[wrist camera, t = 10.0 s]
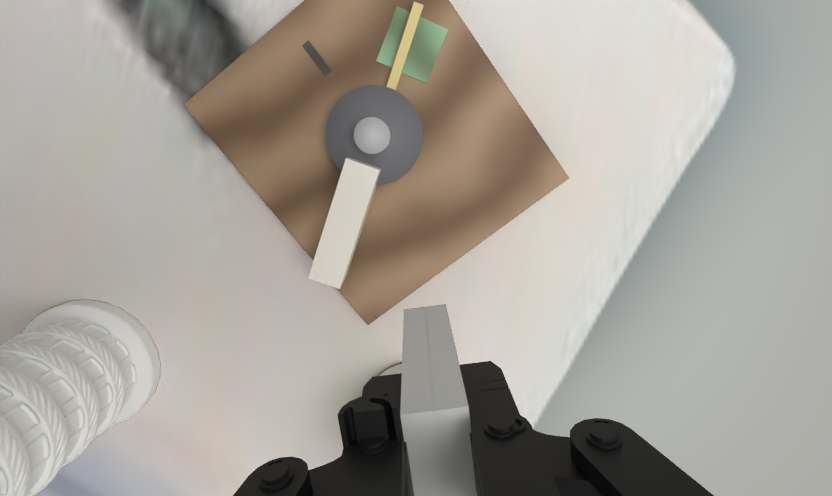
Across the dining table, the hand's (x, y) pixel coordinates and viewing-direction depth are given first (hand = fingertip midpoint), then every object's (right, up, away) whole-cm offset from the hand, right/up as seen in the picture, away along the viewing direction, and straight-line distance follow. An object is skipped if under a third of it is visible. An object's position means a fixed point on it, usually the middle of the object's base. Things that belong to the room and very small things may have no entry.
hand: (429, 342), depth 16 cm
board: (-3, +12, +20) cm, 24 cm away
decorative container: (-29, -7, +24) cm, 38 cm away
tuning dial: (-4, +12, +18) cm, 22 cm away
